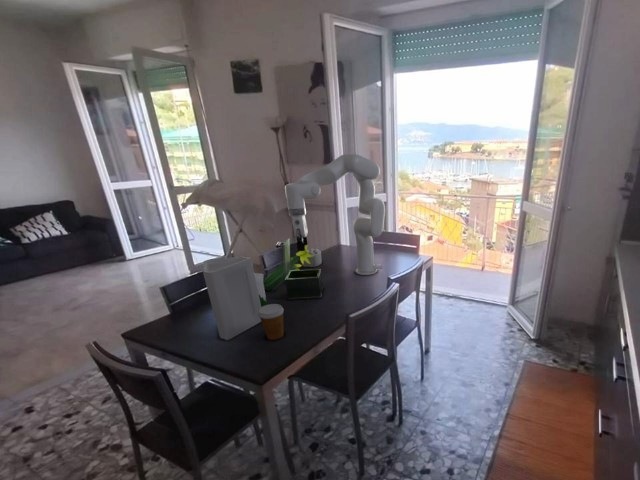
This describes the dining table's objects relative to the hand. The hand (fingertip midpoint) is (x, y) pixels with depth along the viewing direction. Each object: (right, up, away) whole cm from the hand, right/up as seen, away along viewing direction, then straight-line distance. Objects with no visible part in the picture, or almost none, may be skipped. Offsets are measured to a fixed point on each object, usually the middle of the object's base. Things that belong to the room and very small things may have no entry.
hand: (302, 247), depth 170 cm
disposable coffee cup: (-3, -39, -28) cm, 49 cm away
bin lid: (-8, -5, +1) cm, 9 cm away
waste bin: (-1, -22, +10) cm, 24 cm away
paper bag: (-23, -36, -20) cm, 47 cm away
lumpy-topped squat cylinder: (-8, -2, +54) cm, 54 cm away
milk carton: (-18, -31, -9) cm, 37 cm away
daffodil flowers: (-15, -15, +26) cm, 33 cm away
